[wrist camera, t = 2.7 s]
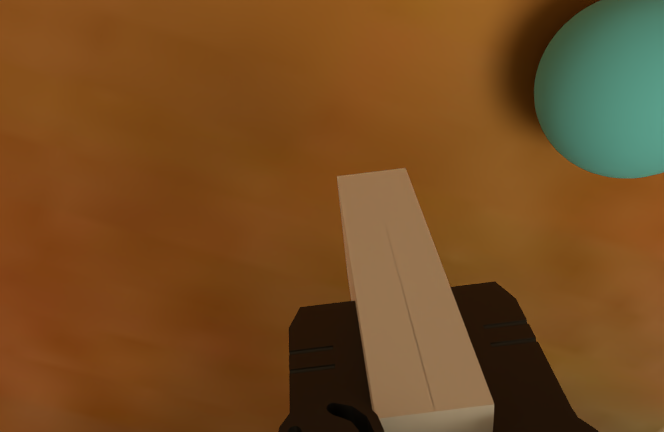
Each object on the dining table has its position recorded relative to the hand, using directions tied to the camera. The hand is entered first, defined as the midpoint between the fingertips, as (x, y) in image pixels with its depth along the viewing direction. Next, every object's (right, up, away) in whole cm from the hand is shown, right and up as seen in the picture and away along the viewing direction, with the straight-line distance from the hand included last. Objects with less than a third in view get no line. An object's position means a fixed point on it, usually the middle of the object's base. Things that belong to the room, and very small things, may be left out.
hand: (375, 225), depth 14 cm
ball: (+9, +5, +7) cm, 12 cm away
